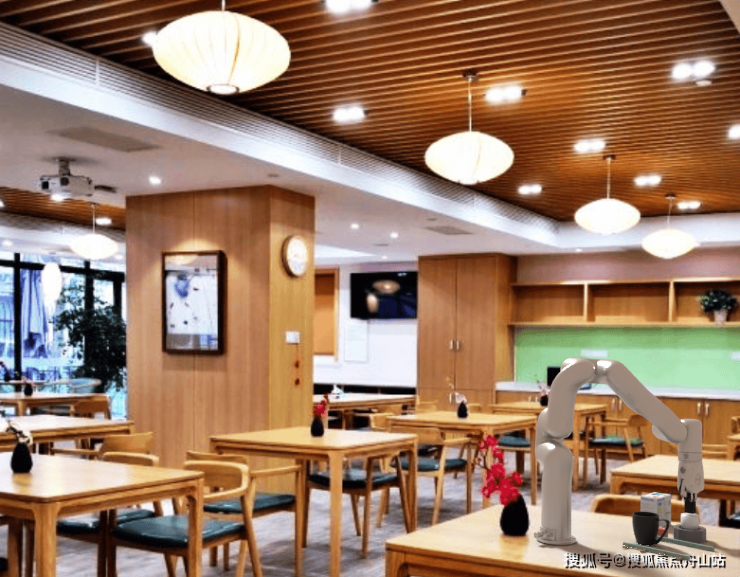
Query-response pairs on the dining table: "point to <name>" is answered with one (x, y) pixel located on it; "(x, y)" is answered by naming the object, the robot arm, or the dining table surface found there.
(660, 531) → the die
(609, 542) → the dining table surface
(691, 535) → the housing
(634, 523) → the mug
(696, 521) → the button
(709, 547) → the track
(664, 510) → the light bulb box
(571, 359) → the robot arm
